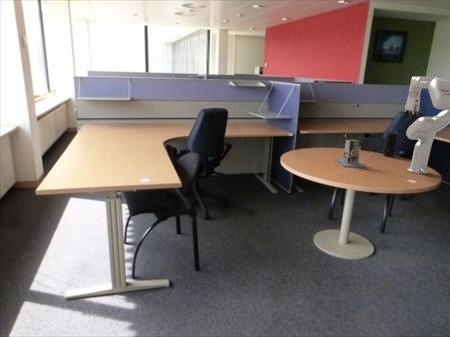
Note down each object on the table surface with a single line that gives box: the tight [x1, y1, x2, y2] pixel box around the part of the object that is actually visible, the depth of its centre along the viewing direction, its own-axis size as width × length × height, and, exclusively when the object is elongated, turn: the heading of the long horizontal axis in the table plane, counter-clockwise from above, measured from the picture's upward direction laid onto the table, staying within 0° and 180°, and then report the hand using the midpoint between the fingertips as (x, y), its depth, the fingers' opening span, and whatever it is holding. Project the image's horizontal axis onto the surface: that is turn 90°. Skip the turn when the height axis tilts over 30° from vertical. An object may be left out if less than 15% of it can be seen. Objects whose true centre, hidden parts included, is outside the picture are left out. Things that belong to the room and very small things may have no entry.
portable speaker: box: [382, 130, 399, 158], centre depth 279 cm, size 9×9×20 cm
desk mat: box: [333, 157, 368, 169], centre depth 249 cm, size 20×16×1 cm
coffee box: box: [342, 139, 363, 163], centre depth 247 cm, size 9×6×16 cm
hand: (409, 118), depth 250 cm, fingers open, 9 cm apart
